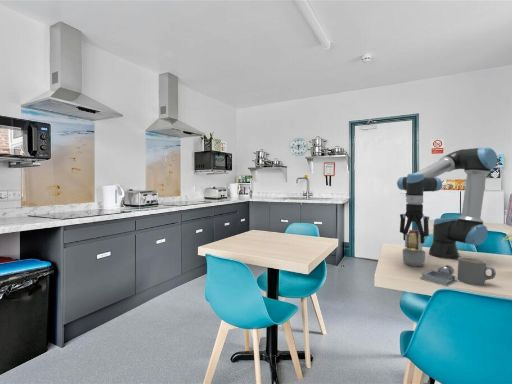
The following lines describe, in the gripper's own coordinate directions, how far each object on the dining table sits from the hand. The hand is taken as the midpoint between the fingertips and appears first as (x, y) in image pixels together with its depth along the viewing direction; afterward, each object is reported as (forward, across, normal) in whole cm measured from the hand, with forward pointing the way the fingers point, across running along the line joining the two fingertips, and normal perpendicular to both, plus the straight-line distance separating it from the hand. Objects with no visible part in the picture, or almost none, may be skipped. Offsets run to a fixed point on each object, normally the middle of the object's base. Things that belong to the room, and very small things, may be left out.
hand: (413, 247), depth 146 cm
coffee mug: (+11, +26, +3) cm, 28 cm away
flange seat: (+11, +15, -5) cm, 19 cm away
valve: (+1, 0, 0) cm, 1 cm away
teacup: (+11, -4, +8) cm, 14 cm away
